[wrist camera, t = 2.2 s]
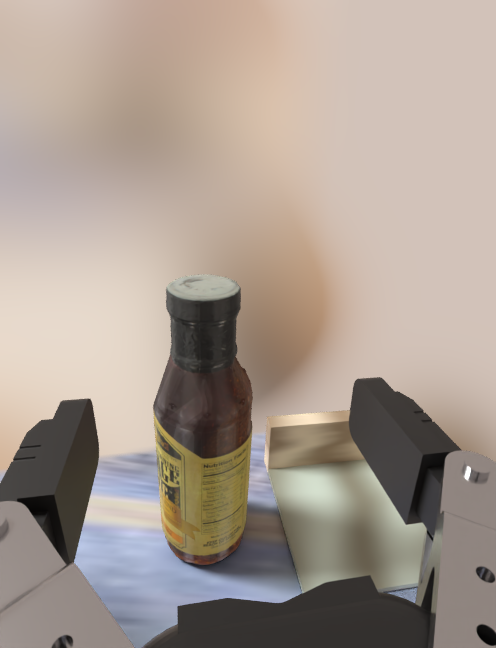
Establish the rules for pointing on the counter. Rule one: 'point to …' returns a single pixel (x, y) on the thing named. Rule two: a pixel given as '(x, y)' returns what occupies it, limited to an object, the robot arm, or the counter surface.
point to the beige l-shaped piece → (337, 506)
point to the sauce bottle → (203, 422)
